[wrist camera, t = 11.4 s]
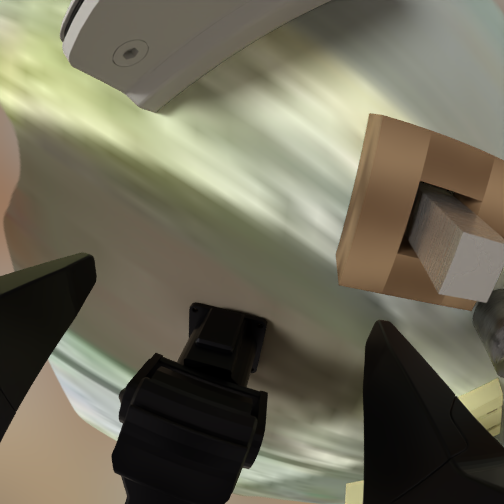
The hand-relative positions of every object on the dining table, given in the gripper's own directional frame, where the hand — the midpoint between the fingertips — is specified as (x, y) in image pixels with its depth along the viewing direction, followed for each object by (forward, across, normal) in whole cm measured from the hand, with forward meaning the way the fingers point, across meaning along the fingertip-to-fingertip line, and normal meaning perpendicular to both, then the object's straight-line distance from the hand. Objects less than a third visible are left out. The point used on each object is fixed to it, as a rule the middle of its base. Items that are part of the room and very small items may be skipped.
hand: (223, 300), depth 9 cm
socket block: (+13, -10, -1) cm, 16 cm away
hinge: (+13, +6, -12) cm, 19 cm away
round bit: (+13, -21, +6) cm, 25 cm away
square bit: (+13, -10, -1) cm, 16 cm away
